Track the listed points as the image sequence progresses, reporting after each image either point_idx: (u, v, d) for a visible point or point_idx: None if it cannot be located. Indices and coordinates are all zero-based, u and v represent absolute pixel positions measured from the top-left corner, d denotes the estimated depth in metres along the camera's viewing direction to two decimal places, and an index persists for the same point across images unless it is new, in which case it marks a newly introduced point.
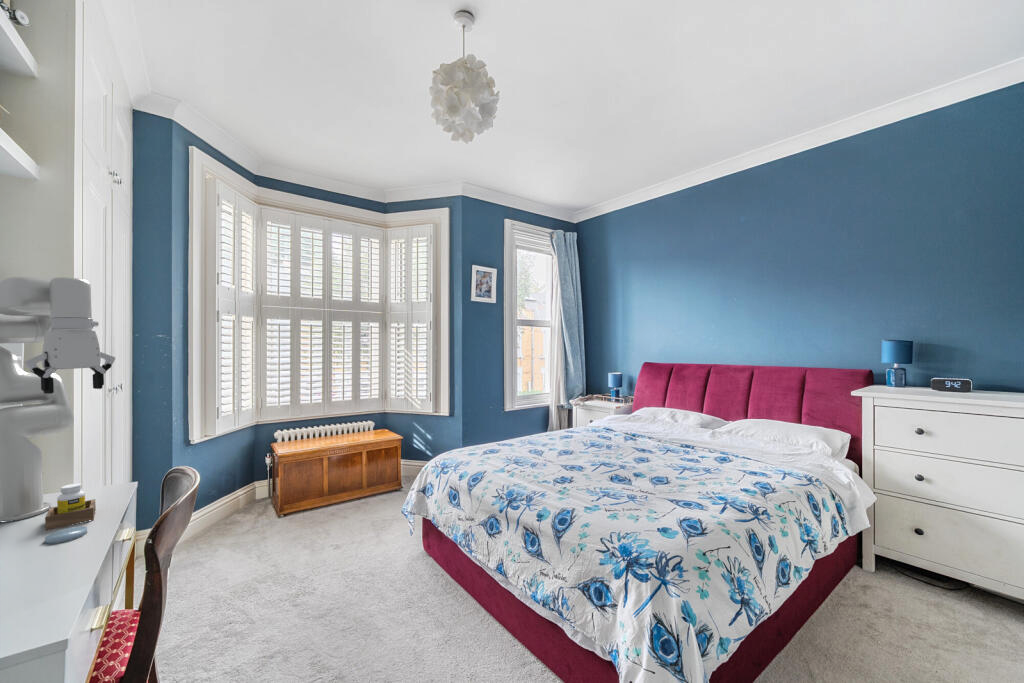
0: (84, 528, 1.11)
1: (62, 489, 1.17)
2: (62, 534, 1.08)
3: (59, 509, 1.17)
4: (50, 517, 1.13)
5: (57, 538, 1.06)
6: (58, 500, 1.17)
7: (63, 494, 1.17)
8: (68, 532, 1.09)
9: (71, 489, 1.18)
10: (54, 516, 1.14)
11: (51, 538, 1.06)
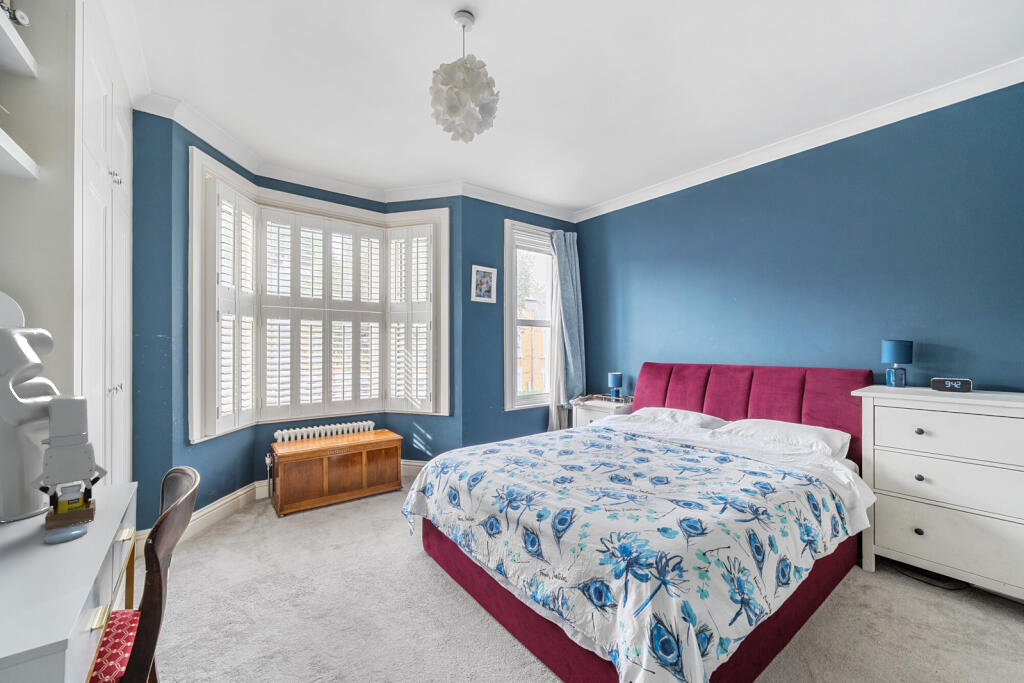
0: (84, 528, 1.11)
1: (62, 489, 1.17)
2: (62, 534, 1.08)
3: (59, 509, 1.17)
4: (50, 517, 1.13)
5: (57, 538, 1.06)
6: (58, 500, 1.17)
7: (63, 494, 1.17)
8: (68, 532, 1.09)
9: (71, 489, 1.18)
10: (54, 516, 1.14)
11: (51, 538, 1.06)
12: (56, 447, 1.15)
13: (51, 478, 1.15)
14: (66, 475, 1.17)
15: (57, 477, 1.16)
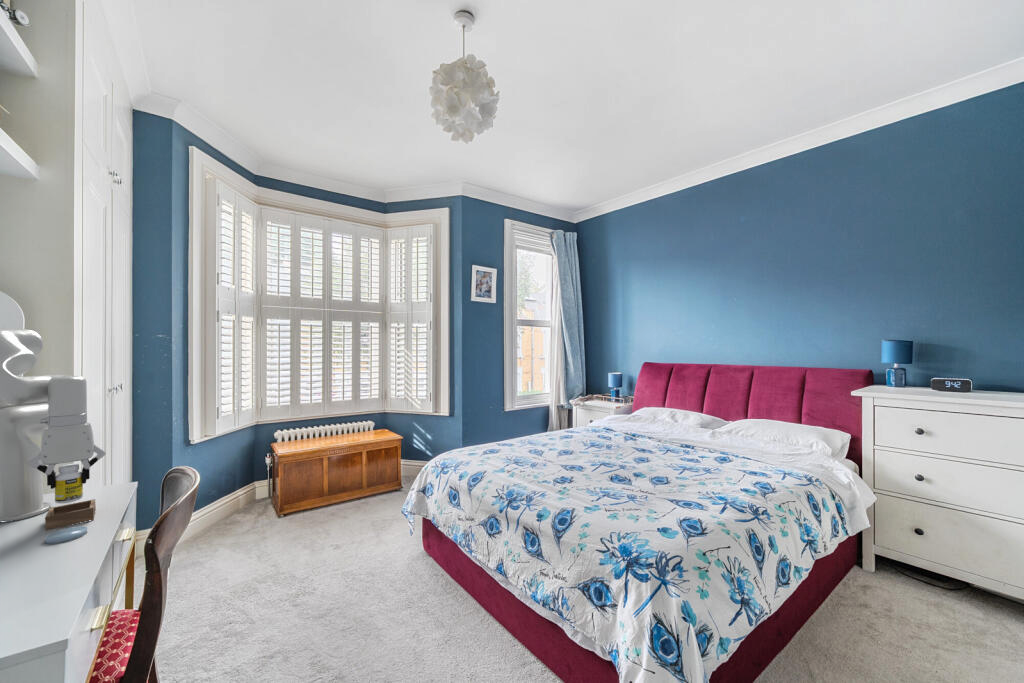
0: (84, 528, 1.11)
1: (60, 469, 1.17)
2: (62, 534, 1.08)
3: (56, 488, 1.17)
4: (50, 517, 1.13)
5: (57, 538, 1.06)
6: (56, 480, 1.17)
7: (61, 474, 1.17)
8: (68, 532, 1.09)
9: (69, 469, 1.18)
10: (54, 516, 1.14)
11: (51, 538, 1.06)
12: (55, 426, 1.15)
13: (49, 457, 1.15)
14: (64, 455, 1.17)
15: (55, 456, 1.16)
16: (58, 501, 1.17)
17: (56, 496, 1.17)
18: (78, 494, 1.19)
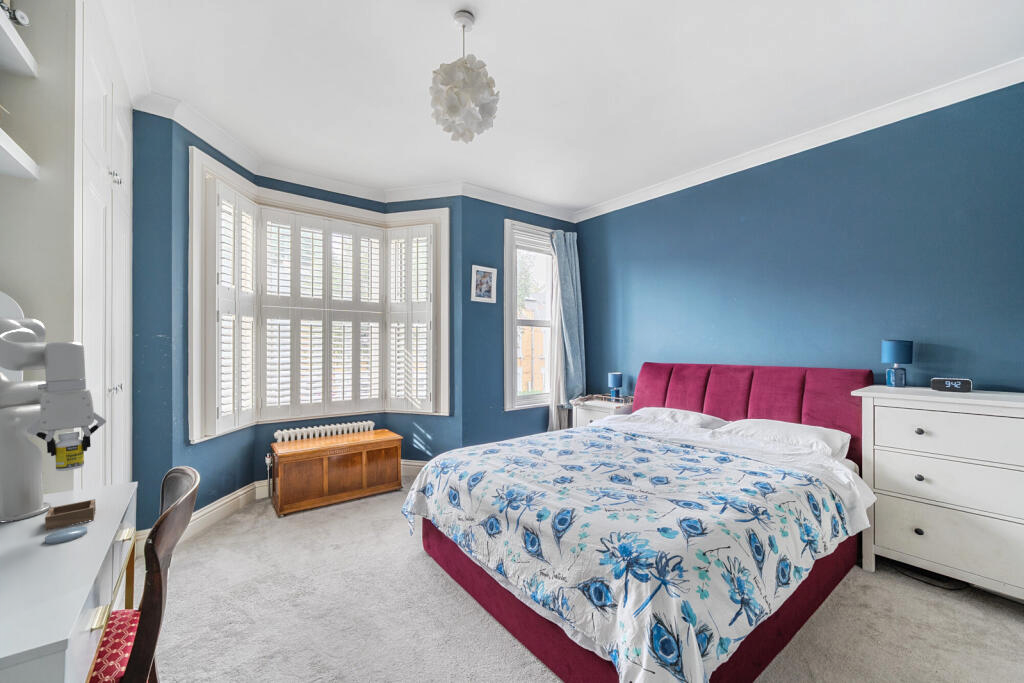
0: (84, 528, 1.11)
1: (60, 436, 1.15)
2: (62, 534, 1.08)
3: (57, 456, 1.14)
4: (50, 517, 1.13)
5: (57, 538, 1.06)
6: (56, 447, 1.14)
7: (61, 441, 1.15)
8: (68, 532, 1.09)
9: (70, 436, 1.15)
10: (54, 516, 1.14)
11: (51, 538, 1.06)
12: (53, 392, 1.13)
13: (49, 423, 1.12)
14: (64, 421, 1.14)
15: (55, 422, 1.13)
16: (59, 468, 1.14)
17: (57, 463, 1.14)
18: (80, 461, 1.17)
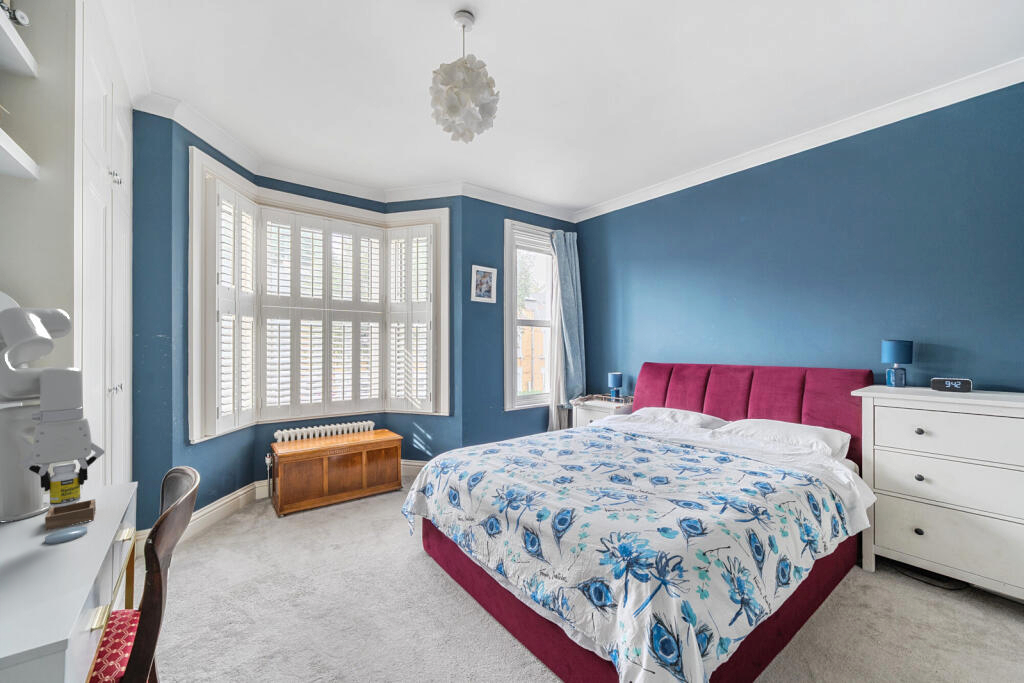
0: (84, 528, 1.11)
1: (54, 469, 1.07)
2: (62, 534, 1.08)
3: (51, 490, 1.06)
4: (50, 517, 1.13)
5: (57, 538, 1.06)
6: (50, 481, 1.06)
7: (56, 474, 1.07)
8: (68, 532, 1.09)
9: (65, 469, 1.07)
10: (54, 516, 1.14)
11: (51, 538, 1.06)
12: (48, 422, 1.05)
13: (42, 456, 1.04)
14: (59, 453, 1.06)
15: (49, 455, 1.05)
16: (53, 504, 1.06)
17: (51, 499, 1.06)
18: (75, 496, 1.09)
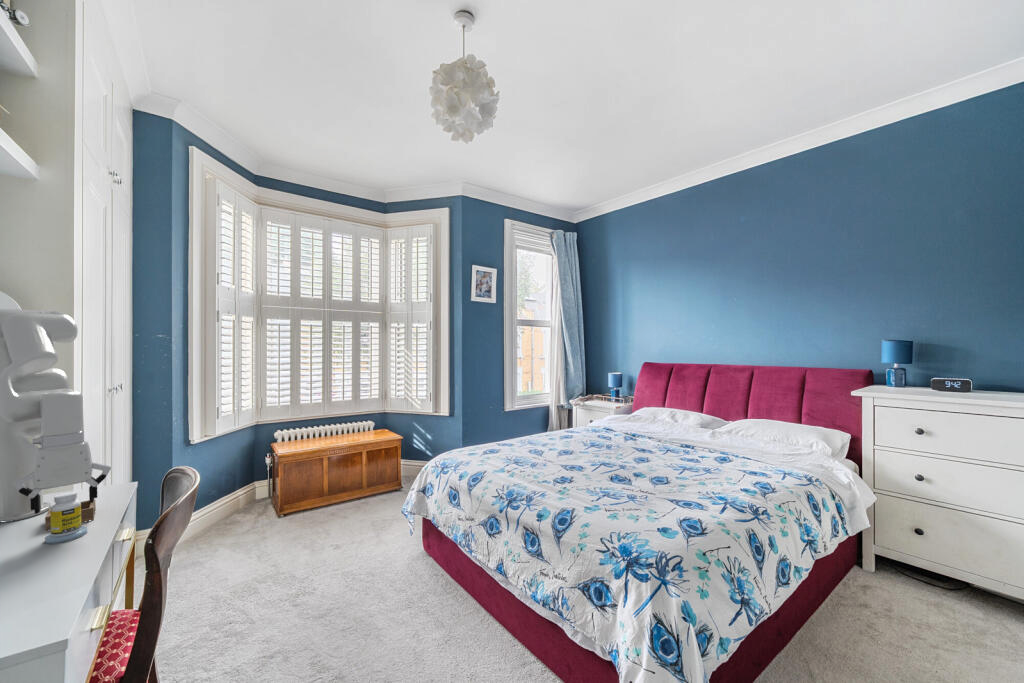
0: (84, 528, 1.11)
1: (56, 498, 1.07)
2: None
3: (52, 520, 1.06)
4: (50, 517, 1.13)
5: (57, 538, 1.06)
6: (51, 511, 1.07)
7: (57, 504, 1.07)
8: None
9: (66, 498, 1.08)
10: None
11: (51, 538, 1.06)
12: (49, 447, 1.05)
13: (43, 481, 1.04)
14: (59, 478, 1.06)
15: (50, 480, 1.05)
16: (54, 534, 1.06)
17: (52, 529, 1.06)
18: (76, 525, 1.09)
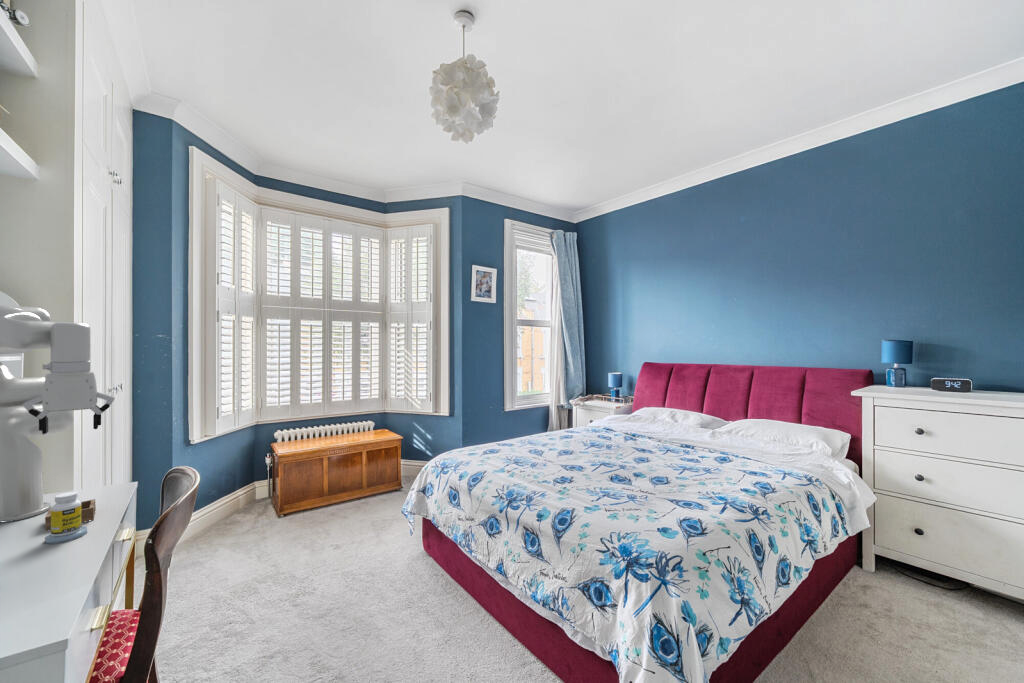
0: (84, 528, 1.11)
1: (56, 498, 1.07)
2: None
3: (52, 520, 1.06)
4: (50, 517, 1.13)
5: (57, 538, 1.06)
6: (52, 510, 1.07)
7: (57, 504, 1.07)
8: None
9: (67, 498, 1.08)
10: None
11: (51, 538, 1.06)
12: (57, 373, 1.12)
13: (51, 404, 1.11)
14: (66, 402, 1.13)
15: (57, 404, 1.12)
16: (54, 534, 1.06)
17: (52, 529, 1.06)
18: (76, 525, 1.09)
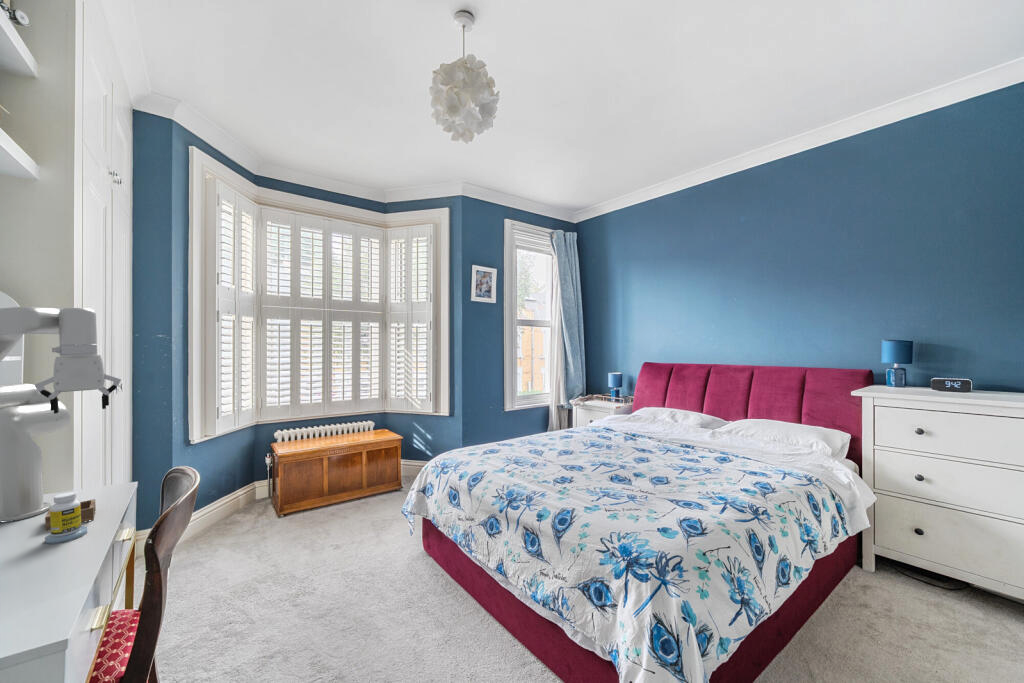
0: (84, 528, 1.11)
1: (55, 499, 1.07)
2: None
3: (52, 520, 1.06)
4: None
5: (57, 538, 1.06)
6: (51, 511, 1.07)
7: (56, 504, 1.07)
8: None
9: (66, 498, 1.08)
10: None
11: (51, 538, 1.06)
12: (66, 355, 1.18)
13: (61, 384, 1.18)
14: (76, 383, 1.19)
15: (67, 384, 1.18)
16: (54, 534, 1.06)
17: (52, 529, 1.06)
18: (76, 525, 1.09)
